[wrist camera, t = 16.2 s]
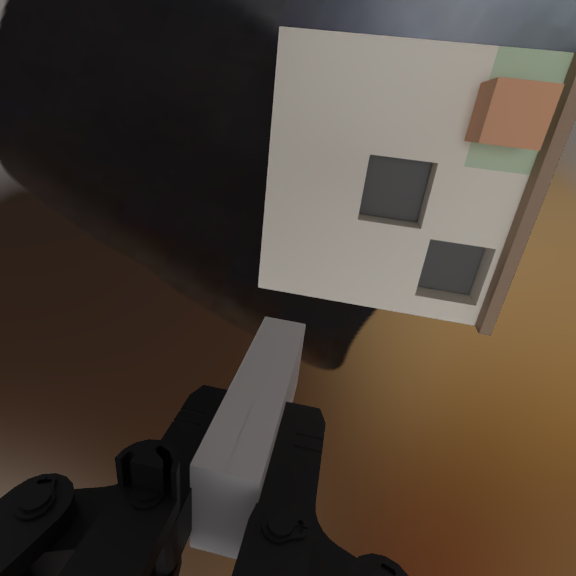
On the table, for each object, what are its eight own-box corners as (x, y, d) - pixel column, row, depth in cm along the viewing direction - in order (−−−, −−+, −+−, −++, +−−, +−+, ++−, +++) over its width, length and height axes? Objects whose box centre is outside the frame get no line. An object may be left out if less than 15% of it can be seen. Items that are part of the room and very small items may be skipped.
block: (480, 83, 28) (498, 76, 24) (538, 89, 27) (564, 83, 24) (464, 140, 29) (478, 143, 26) (517, 147, 29) (539, 150, 25)
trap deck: (285, 33, 31) (275, 21, 27) (571, 59, 28) (602, 50, 25) (263, 277, 40) (254, 293, 36) (478, 315, 37) (490, 335, 34)
